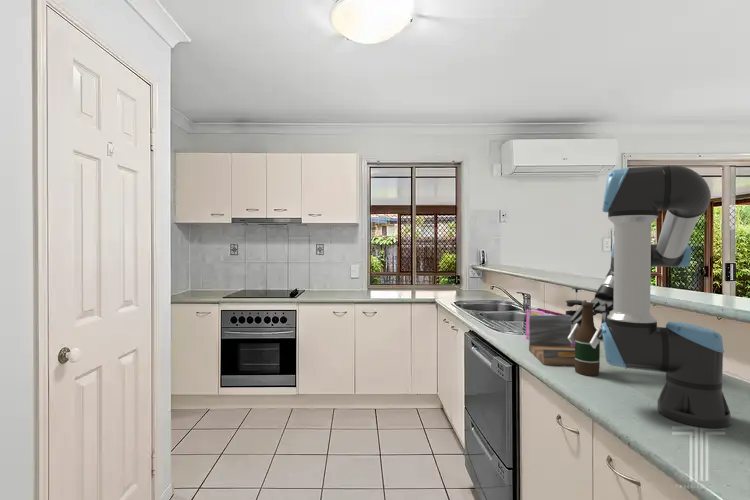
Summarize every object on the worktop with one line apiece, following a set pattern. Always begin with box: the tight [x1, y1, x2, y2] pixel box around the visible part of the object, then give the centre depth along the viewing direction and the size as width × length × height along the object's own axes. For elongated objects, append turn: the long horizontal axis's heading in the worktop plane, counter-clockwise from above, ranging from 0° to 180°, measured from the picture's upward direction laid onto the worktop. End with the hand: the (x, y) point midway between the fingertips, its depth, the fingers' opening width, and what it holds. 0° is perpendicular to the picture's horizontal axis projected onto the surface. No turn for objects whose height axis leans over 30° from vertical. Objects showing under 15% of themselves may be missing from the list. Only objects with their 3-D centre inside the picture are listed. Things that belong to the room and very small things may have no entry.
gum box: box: [525, 307, 575, 348], centre depth 185 cm, size 24×8×14 cm, turn 16°
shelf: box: [528, 315, 575, 367], centre depth 163 cm, size 20×16×14 cm
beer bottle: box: [574, 301, 601, 377], centre depth 144 cm, size 8×8×24 cm
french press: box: [565, 287, 584, 323], centre depth 195 cm, size 12×9×23 cm
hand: (580, 343), depth 143 cm, fingers closed on beer bottle, 7 cm apart
